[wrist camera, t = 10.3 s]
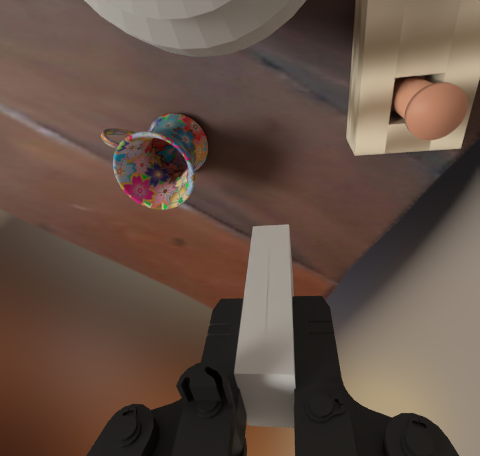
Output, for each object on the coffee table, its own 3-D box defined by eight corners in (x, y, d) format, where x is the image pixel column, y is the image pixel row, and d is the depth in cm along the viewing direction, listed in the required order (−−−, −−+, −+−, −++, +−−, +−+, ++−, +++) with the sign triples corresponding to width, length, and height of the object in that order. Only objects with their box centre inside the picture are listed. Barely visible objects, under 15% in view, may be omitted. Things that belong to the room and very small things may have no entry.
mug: (224, 131, 42) (208, 161, 34) (195, 184, 47) (175, 222, 38) (141, 82, 40) (101, 100, 31) (120, 143, 45) (80, 174, 36)
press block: (362, -97, 29) (378, -121, 24) (495, -122, 27) (542, -154, 22) (346, 138, 41) (354, 155, 36) (438, 131, 39) (460, 148, 34)
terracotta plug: (385, 72, 34) (412, 86, 27) (433, 66, 33) (475, 80, 26) (379, 117, 37) (403, 142, 29) (424, 113, 36) (459, 138, 29)
